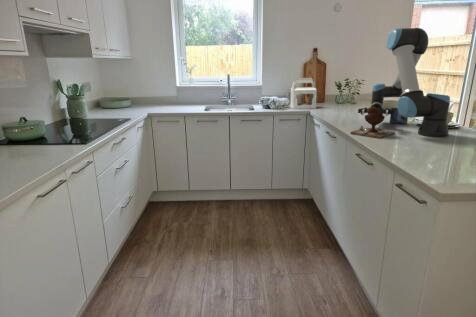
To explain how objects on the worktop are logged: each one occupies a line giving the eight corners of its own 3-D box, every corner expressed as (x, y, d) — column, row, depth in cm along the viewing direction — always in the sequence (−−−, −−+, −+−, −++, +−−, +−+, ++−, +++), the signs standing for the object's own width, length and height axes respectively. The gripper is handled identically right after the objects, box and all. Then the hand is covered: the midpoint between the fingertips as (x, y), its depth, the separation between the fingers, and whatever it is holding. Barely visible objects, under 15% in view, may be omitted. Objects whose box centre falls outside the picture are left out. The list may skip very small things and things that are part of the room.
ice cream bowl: (374, 134, 184) (377, 108, 180) (359, 131, 193) (361, 106, 189) (387, 132, 188) (389, 106, 184) (371, 129, 198) (373, 104, 194)
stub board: (394, 133, 190) (395, 127, 189) (379, 138, 179) (380, 132, 178) (366, 129, 203) (366, 123, 202) (350, 133, 192) (351, 127, 191)
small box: (389, 124, 219) (391, 108, 216) (389, 122, 225) (391, 107, 222) (407, 124, 215) (409, 109, 212) (406, 123, 221) (408, 107, 218)
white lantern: (292, 109, 300) (293, 78, 292) (290, 107, 313) (290, 77, 305) (316, 108, 301) (317, 77, 293) (312, 106, 313) (313, 77, 305)
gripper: (396, 115, 209) (396, 120, 191) (355, 113, 219) (352, 118, 201) (397, 103, 207) (398, 107, 189) (356, 102, 217) (353, 106, 199)
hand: (374, 113), depth 195 cm, fingers open, 13 cm apart
